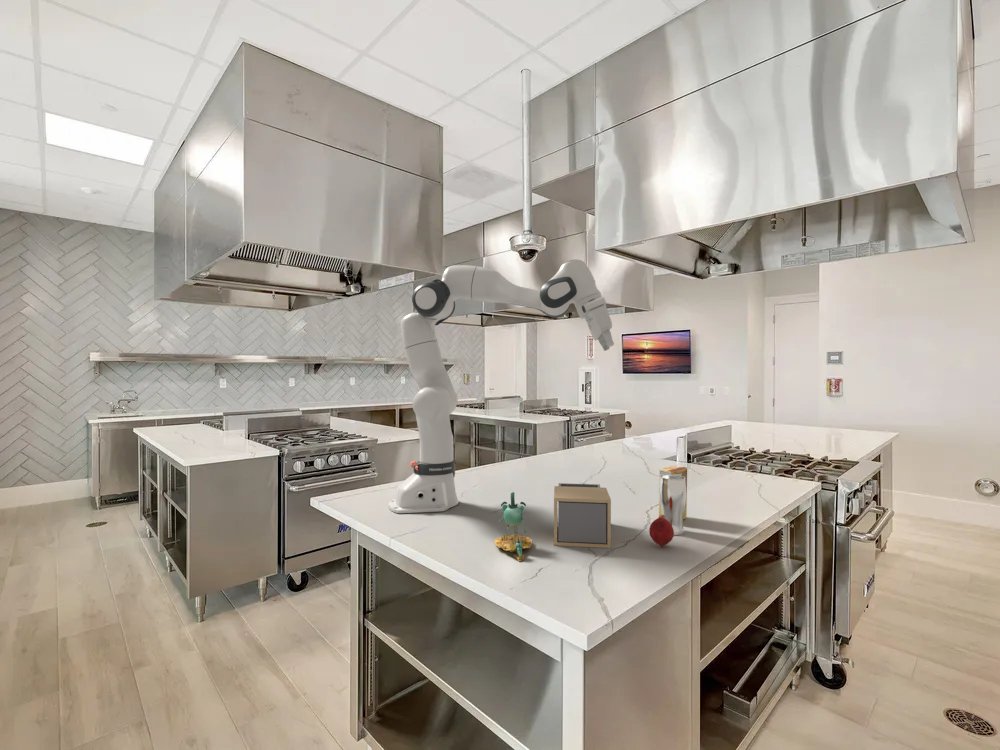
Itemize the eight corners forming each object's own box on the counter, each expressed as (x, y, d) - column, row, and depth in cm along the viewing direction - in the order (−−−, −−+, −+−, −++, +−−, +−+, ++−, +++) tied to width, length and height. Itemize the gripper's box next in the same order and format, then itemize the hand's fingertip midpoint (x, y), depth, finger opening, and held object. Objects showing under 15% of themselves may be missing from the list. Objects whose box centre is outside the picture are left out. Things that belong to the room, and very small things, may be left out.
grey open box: (558, 516, 138) (558, 483, 138) (599, 518, 136) (599, 484, 136) (558, 541, 118) (558, 502, 118) (606, 543, 117) (606, 504, 117)
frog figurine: (489, 562, 108) (489, 496, 110) (497, 542, 126) (497, 486, 128) (530, 563, 108) (530, 497, 109) (533, 543, 125) (532, 486, 127)
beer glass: (689, 531, 129) (690, 476, 128) (679, 537, 123) (679, 481, 123) (665, 525, 133) (665, 472, 133) (654, 531, 128) (654, 476, 128)
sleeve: (554, 529, 130) (554, 486, 130) (605, 531, 128) (606, 487, 128) (553, 545, 118) (554, 497, 118) (610, 548, 117) (610, 499, 116)
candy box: (674, 515, 143) (674, 464, 143) (687, 518, 139) (687, 467, 139) (658, 521, 137) (658, 468, 137) (671, 524, 134) (671, 471, 134)
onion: (670, 552, 113) (671, 519, 113) (646, 548, 117) (646, 515, 116) (675, 545, 118) (676, 513, 118) (652, 540, 121) (652, 509, 121)
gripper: (579, 318, 158) (596, 355, 156) (584, 304, 137) (603, 347, 136) (596, 310, 157) (613, 348, 156) (604, 296, 137) (624, 339, 136)
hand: (609, 348), depth 146 cm, fingers open, 8 cm apart
